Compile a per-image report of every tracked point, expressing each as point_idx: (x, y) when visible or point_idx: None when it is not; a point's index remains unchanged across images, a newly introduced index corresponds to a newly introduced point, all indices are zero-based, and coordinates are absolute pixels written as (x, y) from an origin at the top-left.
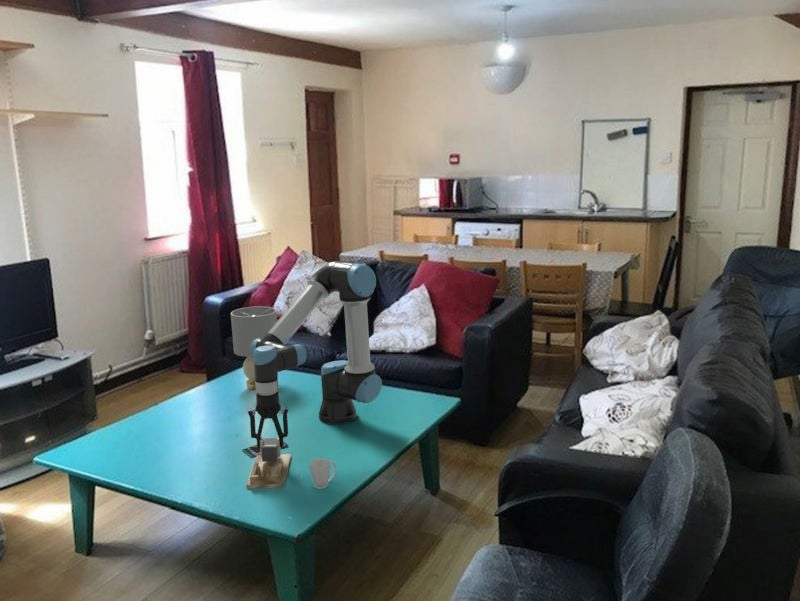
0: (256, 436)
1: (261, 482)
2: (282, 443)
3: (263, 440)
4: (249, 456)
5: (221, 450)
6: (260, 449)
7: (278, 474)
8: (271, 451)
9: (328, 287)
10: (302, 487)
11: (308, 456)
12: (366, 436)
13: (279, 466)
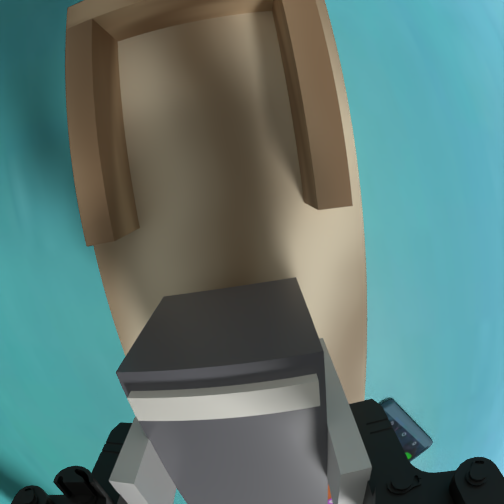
0: (426, 497)
1: None
2: (107, 448)
3: (329, 487)
4: (399, 407)
5: (497, 417)
6: (341, 385)
7: (73, 21)
8: (189, 338)
9: None
10: (3, 76)
11: (83, 417)
12: (12, 485)
13: (87, 152)
